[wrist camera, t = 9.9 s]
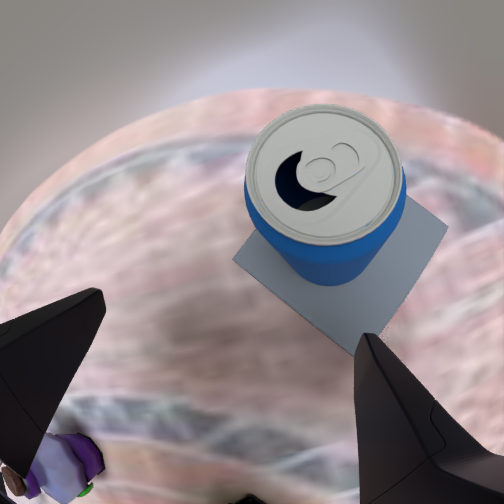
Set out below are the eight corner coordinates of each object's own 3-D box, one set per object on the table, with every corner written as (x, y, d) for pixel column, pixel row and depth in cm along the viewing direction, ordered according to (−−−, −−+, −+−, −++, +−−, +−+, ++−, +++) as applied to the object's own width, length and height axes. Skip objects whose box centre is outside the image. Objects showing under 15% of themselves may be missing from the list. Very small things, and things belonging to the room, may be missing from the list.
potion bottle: (110, 497, 22) (40, 535, 11) (61, 454, 25) (-10, 476, 13) (121, 451, 23) (34, 491, 11) (67, 406, 25) (-18, 421, 14)
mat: (446, 228, 20) (448, 226, 19) (357, 359, 20) (358, 360, 19) (324, 145, 23) (324, 142, 23) (234, 260, 23) (232, 259, 23)
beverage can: (269, 229, 23) (206, 150, 11) (341, 184, 22) (340, 74, 10) (314, 304, 21) (292, 296, 9) (389, 255, 20) (448, 193, 8)
